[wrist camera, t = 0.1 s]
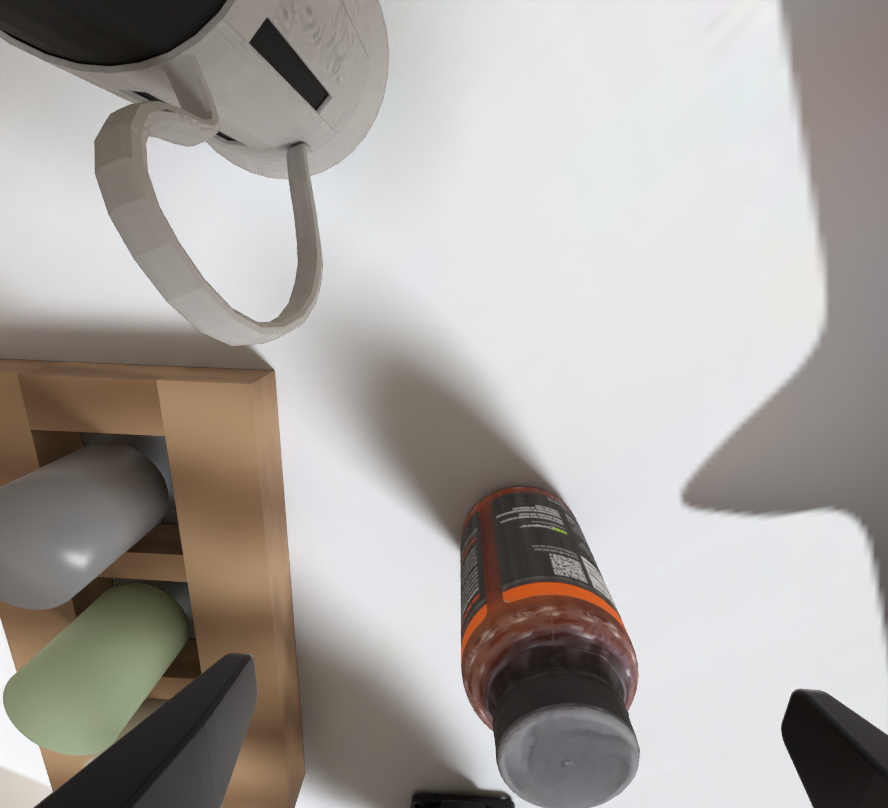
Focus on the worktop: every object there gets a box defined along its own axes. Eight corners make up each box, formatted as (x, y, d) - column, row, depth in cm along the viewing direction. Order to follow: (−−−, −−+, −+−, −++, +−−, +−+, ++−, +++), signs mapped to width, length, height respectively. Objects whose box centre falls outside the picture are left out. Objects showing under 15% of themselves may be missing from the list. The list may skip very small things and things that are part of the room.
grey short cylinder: (175, 537, 22) (95, 613, 17) (77, 532, 22) (-29, 605, 17) (160, 443, 21) (69, 498, 16) (56, 439, 21) (-66, 491, 16)
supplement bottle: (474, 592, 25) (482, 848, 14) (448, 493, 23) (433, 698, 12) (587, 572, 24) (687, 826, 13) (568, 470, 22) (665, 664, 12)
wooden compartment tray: (305, 773, 29) (291, 818, 27) (88, 757, 30) (56, 801, 27) (274, 370, 22) (250, 384, 19) (-17, 358, 22) (-75, 369, 20)
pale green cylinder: (194, 661, 24) (128, 759, 20) (105, 656, 24) (18, 751, 20) (182, 584, 23) (108, 669, 18) (88, 579, 23) (-10, 662, 18)
